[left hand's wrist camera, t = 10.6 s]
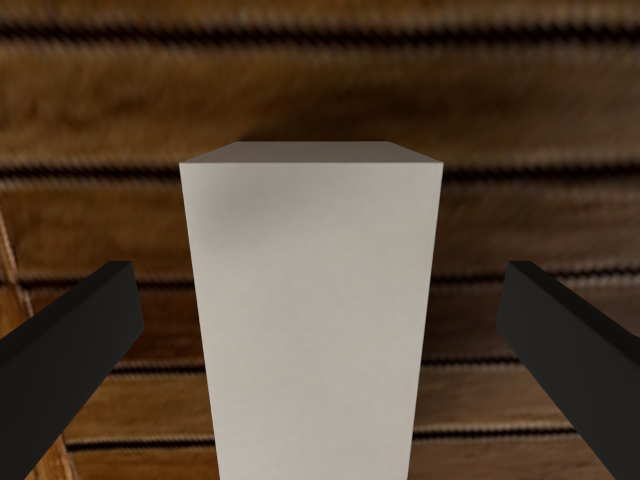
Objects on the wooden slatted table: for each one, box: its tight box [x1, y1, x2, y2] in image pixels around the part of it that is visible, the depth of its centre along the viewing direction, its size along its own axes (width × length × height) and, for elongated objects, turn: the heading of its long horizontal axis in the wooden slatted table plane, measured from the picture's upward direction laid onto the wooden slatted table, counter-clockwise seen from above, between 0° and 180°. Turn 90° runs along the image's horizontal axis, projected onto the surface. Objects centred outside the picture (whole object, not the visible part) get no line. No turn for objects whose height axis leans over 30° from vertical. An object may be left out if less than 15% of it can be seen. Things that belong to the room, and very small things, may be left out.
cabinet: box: [179, 142, 443, 480], centre depth 23 cm, size 20×10×11 cm, turn 0°
